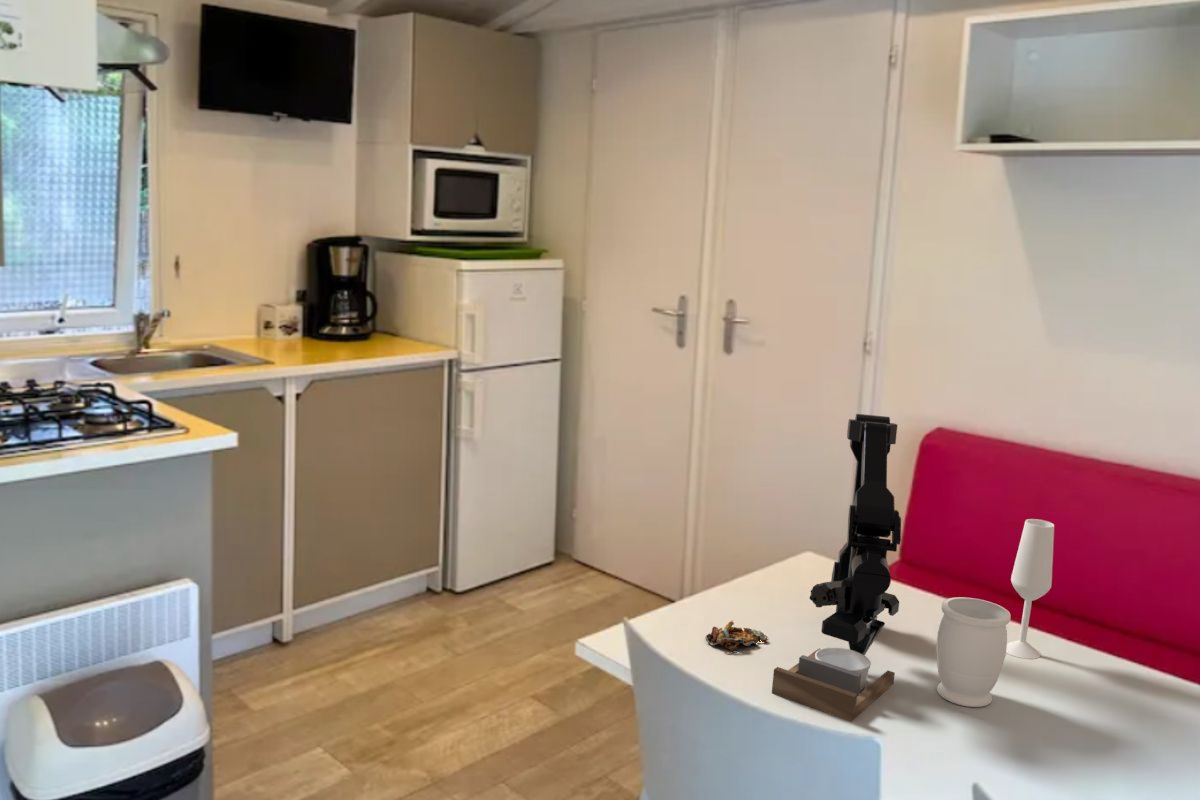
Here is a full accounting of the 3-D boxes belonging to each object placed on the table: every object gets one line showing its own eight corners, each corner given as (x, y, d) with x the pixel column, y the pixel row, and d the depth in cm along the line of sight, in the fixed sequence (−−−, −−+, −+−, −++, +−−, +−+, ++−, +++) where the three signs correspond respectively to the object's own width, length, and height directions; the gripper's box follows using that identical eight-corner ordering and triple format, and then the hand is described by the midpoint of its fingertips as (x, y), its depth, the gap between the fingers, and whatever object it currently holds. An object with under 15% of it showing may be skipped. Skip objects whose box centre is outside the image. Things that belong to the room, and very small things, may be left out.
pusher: (800, 680, 170) (803, 654, 169) (858, 700, 164) (862, 673, 163) (796, 683, 168) (799, 657, 168) (855, 703, 163) (858, 676, 162)
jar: (964, 716, 161) (977, 625, 159) (916, 687, 170) (927, 600, 168) (1012, 705, 166) (1026, 616, 164) (963, 677, 175) (975, 593, 173)
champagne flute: (1021, 660, 184) (1040, 530, 179) (992, 645, 190) (1010, 518, 185) (1049, 656, 186) (1069, 527, 182) (1020, 641, 192) (1038, 516, 188)
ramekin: (808, 669, 175) (810, 644, 174) (860, 672, 175) (863, 648, 174) (818, 693, 166) (820, 668, 165) (873, 697, 166) (876, 671, 165)
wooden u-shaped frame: (818, 659, 179) (820, 637, 178) (893, 683, 171) (896, 661, 170) (771, 692, 165) (773, 669, 164) (851, 721, 157) (854, 696, 157)
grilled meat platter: (774, 643, 185) (776, 624, 185) (728, 658, 178) (729, 638, 177) (745, 629, 191) (747, 611, 190) (699, 643, 183) (701, 624, 183)
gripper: (843, 549, 184) (834, 632, 187) (796, 576, 169) (787, 665, 172) (905, 565, 178) (894, 650, 181) (861, 594, 163) (851, 687, 166)
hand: (856, 662), depth 175 cm, fingers closed
